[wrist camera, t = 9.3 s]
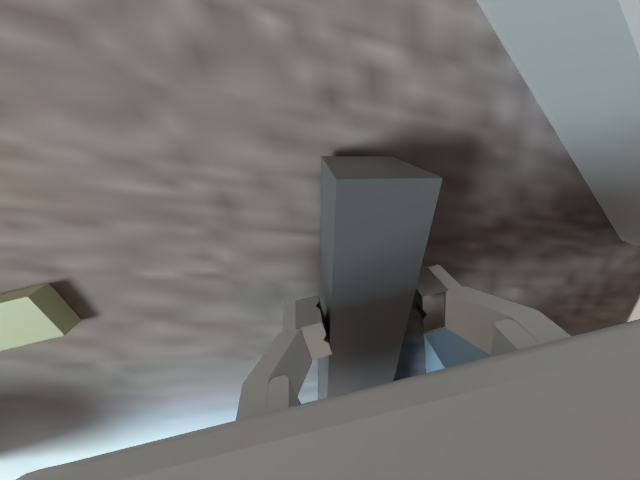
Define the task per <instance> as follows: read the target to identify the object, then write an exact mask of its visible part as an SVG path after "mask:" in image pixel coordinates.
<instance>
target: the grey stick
mask: <svg viewBox="0 0 640 480" xmlns="http://www.w3.org/2000/svg"><path fill="white" fill-rule="evenodd" d="M476 1H477V2H478V4H479V6H480V7H481V9H482V11H483V12H484V14H485V16H486V17H487V19H488V21H489V22H490V24H491V26H492V27H493V29H494V31H495V32H496V34H497V35H498V37H499V39H500V40H501V42H502V44H503V45H504V47H505V49H506V50H507V52H508V54H509V55H510V57H511V59H512V60H513V62H514V64H515V65H516V67H517V69H518V70H519V72H520V74H521V75H522V77H523V79H524V80H525V82H526V84H527V85H528V87H529V89H530V90H531V92H532V94H533V95H534V97H535V98H536V100H537V102H538V103H539V105H540V107H541V108H542V110H543V112H544V113H545V115H546V117H547V118H548V120H549V122H550V123H551V125H552V127H553V128H554V130H555V132H556V133H557V135H558V137H559V138H560V140H561V142H562V143H563V145H564V147H565V148H566V150H567V152H568V153H569V155H570V156H571V158H572V160H573V161H574V163H575V165H576V166H577V168H578V170H579V171H580V173H581V175H582V176H583V178H584V180H585V181H586V183H587V185H588V186H589V188H590V190H591V191H592V193H593V195H594V196H595V198H596V200H597V201H598V203H599V205H600V206H601V208H602V210H603V211H604V213H605V215H606V216H607V218H608V219H609V221H610V223H611V224H612V226H613V228H614V229H615V231H616V233H617V234H618V236H619V238H620V239H621V240H622V241H624V242H627V243H630V244H633V245H636V246H638V247H640V0H476Z"/></svg>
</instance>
